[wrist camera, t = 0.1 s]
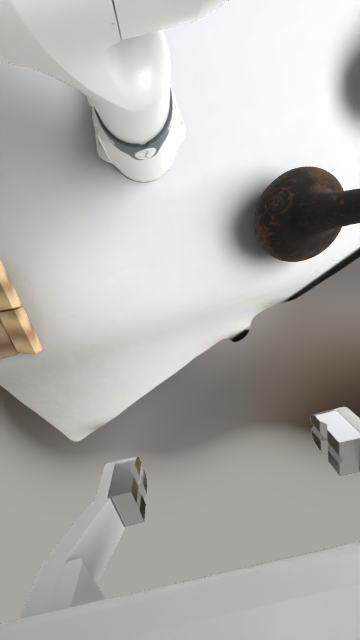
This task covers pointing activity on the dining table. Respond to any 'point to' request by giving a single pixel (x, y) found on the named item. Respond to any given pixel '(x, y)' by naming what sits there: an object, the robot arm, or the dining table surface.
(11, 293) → the plank
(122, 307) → the dining table surface
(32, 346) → the plank
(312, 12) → the dining table surface
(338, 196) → the dark brown round bottle
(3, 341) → the base board
